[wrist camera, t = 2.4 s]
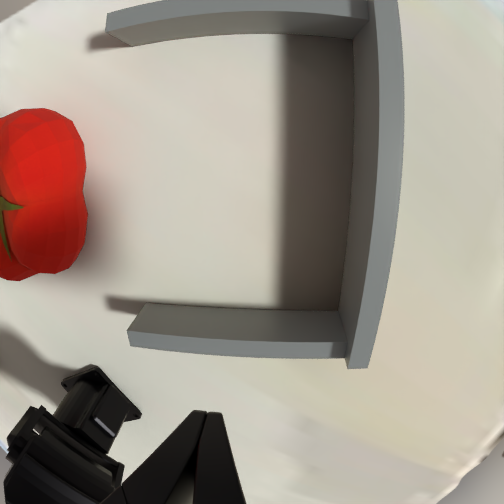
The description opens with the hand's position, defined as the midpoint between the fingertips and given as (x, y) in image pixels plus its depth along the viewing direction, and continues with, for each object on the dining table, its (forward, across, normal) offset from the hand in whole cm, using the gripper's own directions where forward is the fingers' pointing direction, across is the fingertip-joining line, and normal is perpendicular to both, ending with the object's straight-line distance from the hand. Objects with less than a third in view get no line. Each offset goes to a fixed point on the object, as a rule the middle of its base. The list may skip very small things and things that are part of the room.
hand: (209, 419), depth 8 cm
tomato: (+12, +14, -5) cm, 19 cm away
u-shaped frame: (+12, 0, -5) cm, 13 cm away
